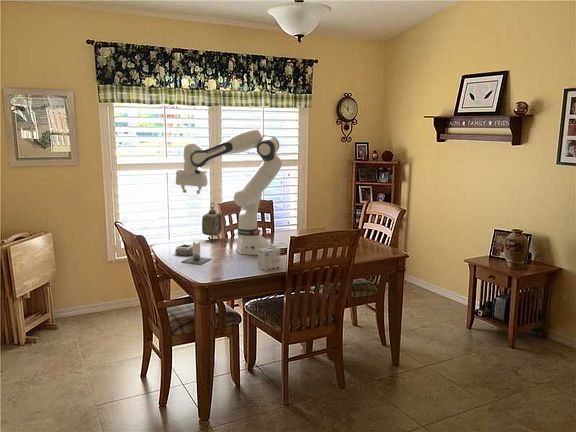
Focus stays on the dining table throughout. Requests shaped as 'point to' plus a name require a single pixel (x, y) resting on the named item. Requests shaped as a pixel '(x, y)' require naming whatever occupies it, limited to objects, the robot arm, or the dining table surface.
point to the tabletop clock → (212, 223)
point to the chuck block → (184, 250)
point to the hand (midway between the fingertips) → (191, 193)
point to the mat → (190, 260)
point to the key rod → (196, 251)
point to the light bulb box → (268, 258)
